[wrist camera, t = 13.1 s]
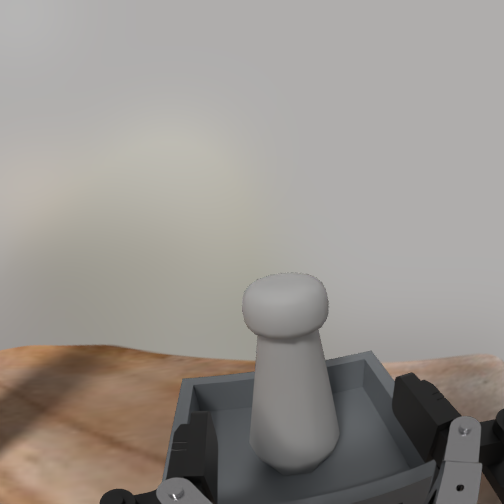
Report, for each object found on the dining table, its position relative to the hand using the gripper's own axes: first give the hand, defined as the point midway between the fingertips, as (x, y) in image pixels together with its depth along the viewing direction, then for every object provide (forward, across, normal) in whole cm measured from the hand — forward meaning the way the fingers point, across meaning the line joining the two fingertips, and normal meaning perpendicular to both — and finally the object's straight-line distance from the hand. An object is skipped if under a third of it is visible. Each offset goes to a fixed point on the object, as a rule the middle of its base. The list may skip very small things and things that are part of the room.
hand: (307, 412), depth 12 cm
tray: (+5, 0, +10) cm, 11 cm away
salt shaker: (+5, 0, +9) cm, 10 cm away
